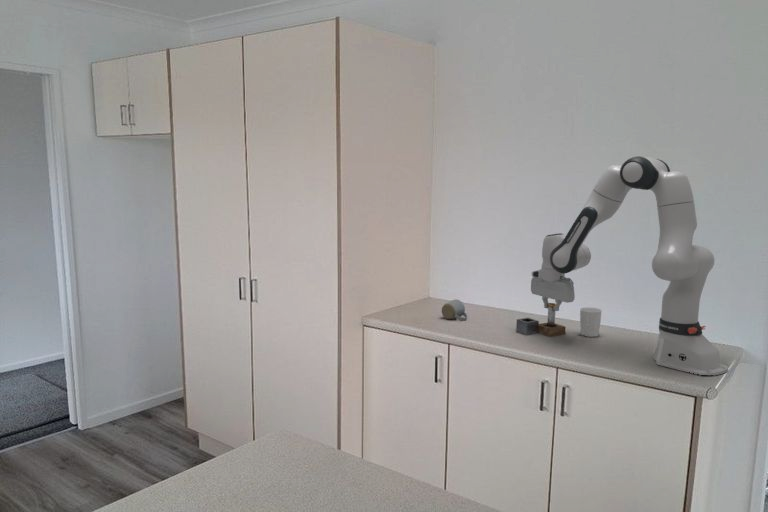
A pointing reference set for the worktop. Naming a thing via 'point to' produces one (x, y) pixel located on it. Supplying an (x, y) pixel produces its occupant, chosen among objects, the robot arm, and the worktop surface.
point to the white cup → (590, 321)
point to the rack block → (551, 330)
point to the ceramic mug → (454, 310)
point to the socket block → (527, 326)
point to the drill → (551, 315)
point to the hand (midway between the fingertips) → (551, 309)
